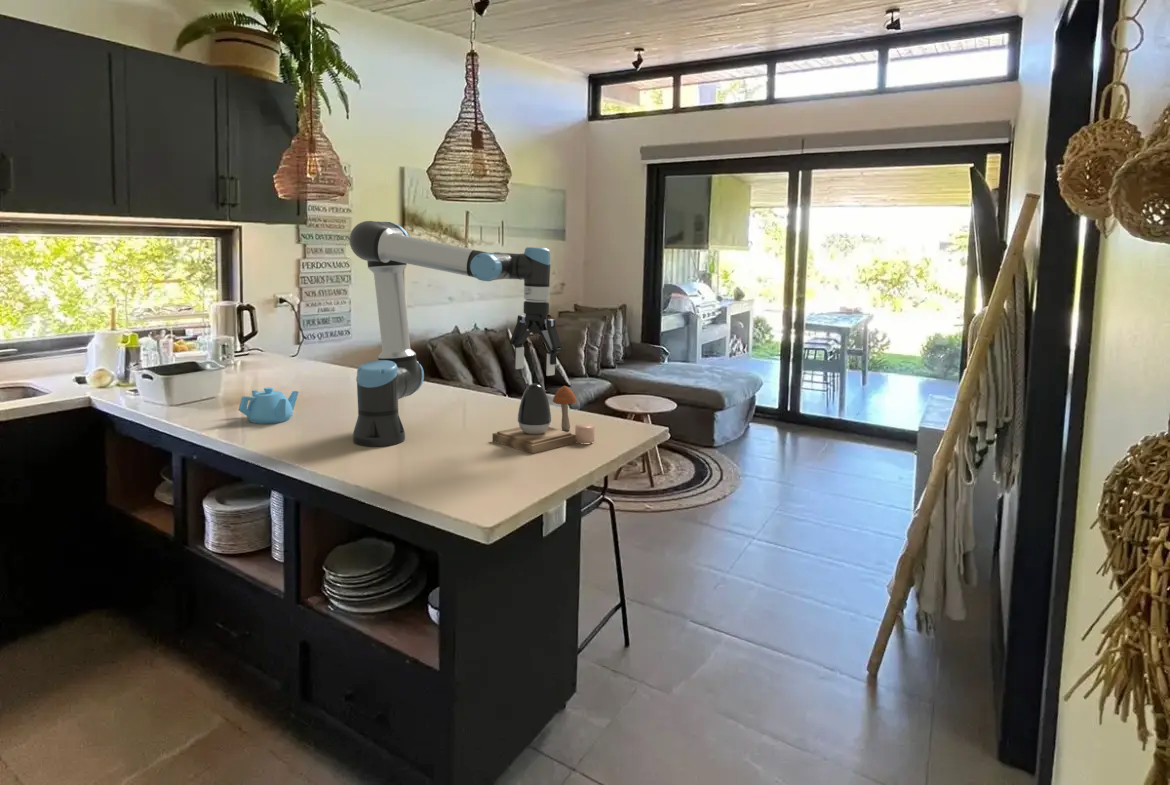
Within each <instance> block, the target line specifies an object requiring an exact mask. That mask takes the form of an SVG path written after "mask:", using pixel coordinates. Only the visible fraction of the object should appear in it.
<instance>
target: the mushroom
mask: <svg viewBox="0 0 1170 785" xmlns="http://www.w3.org/2000/svg"><path fill="white" fill-rule="evenodd" d="M577 402H578V399H577V396H576V395H575V394H574V392H573V390H572V389H571V388H570V387H568V386H566V385H563V386H561V387H560V388H559V389H558V390H557V391H556V392H555V393H554V396H553V398H552V403H554V404H557V405H560V406H561V408H560V409H561V425H560V426H561V431H562V430H563V431H565V432H568V431H570V428H571V423H570V418H569V411H568V410H569V405H573V404H575V403H577Z"/></svg>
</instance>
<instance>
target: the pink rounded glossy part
mask: <svg viewBox="0 0 1170 785" xmlns="http://www.w3.org/2000/svg"><path fill="white" fill-rule="evenodd" d="M574 428H575V430H574V431H575V433H574V435H576V442H577V443H576V444H578V443H592V442H594V441H595V440H596V438H595V435H596V431H595V430H596V426H595V425H594V424H591V423H578V424H576V425H575V427H574ZM594 443H595V442H594Z"/></svg>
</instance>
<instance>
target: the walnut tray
mask: <svg viewBox="0 0 1170 785" xmlns="http://www.w3.org/2000/svg"><path fill="white" fill-rule="evenodd" d="M491 441H492V442H494V443H498V444H500V445H504V446H507V447H510V448H514V449H517V450H520V451H522V452H527V453H529V454H537V453H541V452H544V451H549V450H552V449H556V448H561V447H564V445H565V446H568V444H569V445H572V444H571V443H573V444H576V443H575V442H576V435H575V434H573V433H572V432H568V431H562V429H561V430H560V429H558V428H553V427H550V426H549V427H548V429H547V430H546V431H545V432H544V433H542V434H537V435H532V434H527V433H525V432H523V431H522V430H521V428H520V426H516V427H513V428H508V429H503V430H500V431H496V432H493V433H492V440H491Z"/></svg>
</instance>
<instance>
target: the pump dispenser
mask: <svg viewBox="0 0 1170 785" xmlns="http://www.w3.org/2000/svg"><path fill="white" fill-rule="evenodd" d="M525 387H526V388H525V390H524V392H523V394H522V397H521V399H520V403H519V406H518V412H517V423H518V427H520V428H521V430H522V431H523V432H525V433H527V434H532V435H537V434H542V433H544V432H545V431H546V430H547V429H548V427H550V425H551V422H552V414H551V413H552V412H551V407H550V403H549V399H548V396H547V393H546V391H545V389H544V387H543V386H542V385H541V384H539V383H531V384H529V382H528V383H525Z"/></svg>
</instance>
